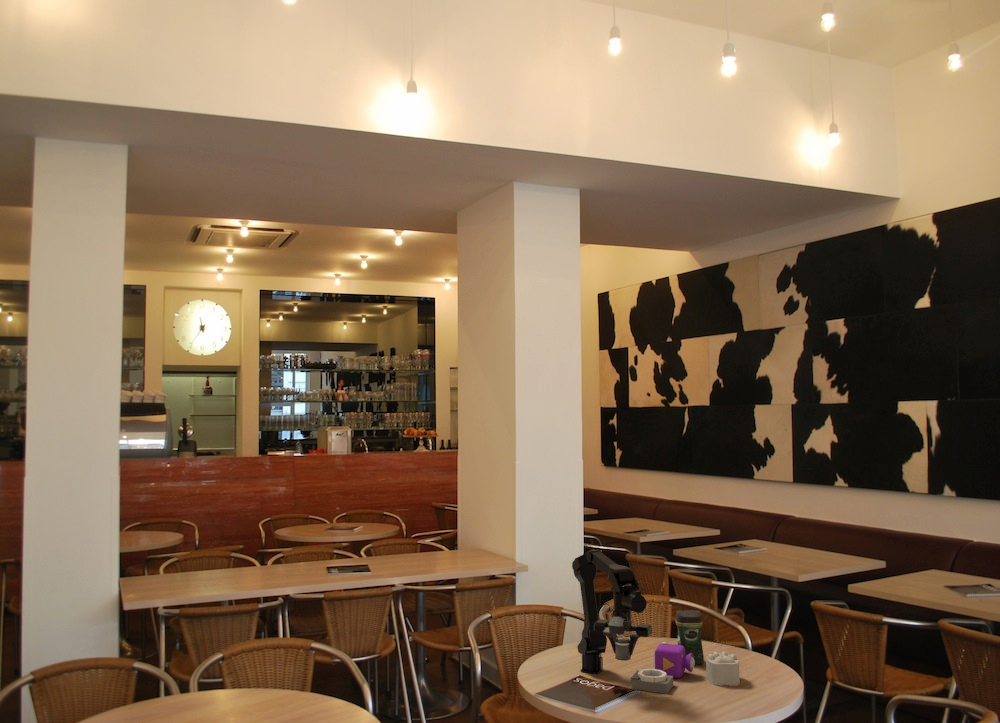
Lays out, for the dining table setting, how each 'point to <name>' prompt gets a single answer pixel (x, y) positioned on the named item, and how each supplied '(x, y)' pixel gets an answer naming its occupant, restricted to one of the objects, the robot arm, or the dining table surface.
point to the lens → (622, 649)
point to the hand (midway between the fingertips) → (623, 654)
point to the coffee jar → (690, 633)
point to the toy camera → (673, 659)
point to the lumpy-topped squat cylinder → (722, 669)
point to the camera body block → (652, 680)
